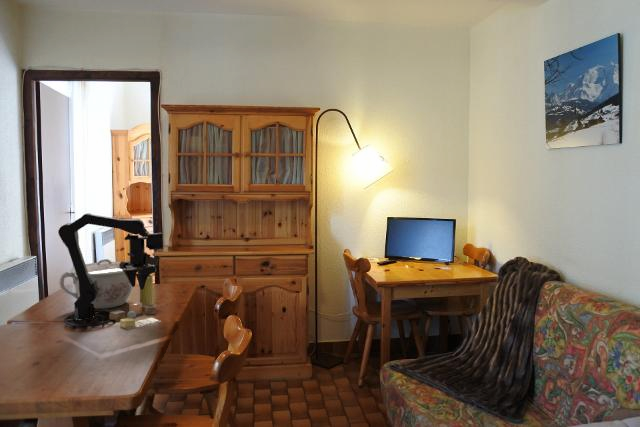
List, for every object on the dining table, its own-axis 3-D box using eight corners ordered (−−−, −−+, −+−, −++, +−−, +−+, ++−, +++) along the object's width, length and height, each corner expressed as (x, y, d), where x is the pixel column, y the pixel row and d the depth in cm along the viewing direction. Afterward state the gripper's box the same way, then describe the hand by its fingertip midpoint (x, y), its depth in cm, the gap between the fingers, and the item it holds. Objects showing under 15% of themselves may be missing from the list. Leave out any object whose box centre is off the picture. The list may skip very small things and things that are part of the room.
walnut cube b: (145, 317, 203) (145, 308, 203) (143, 315, 207) (143, 305, 206) (155, 316, 205) (155, 307, 205) (153, 314, 209) (153, 304, 208)
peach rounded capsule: (133, 318, 202) (133, 306, 201) (127, 315, 205) (126, 304, 205) (144, 315, 206) (144, 303, 205) (138, 313, 209) (138, 301, 208)
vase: (149, 310, 213) (148, 277, 212) (136, 309, 214) (135, 277, 213) (156, 306, 219) (156, 274, 218) (144, 305, 220) (143, 274, 219)
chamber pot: (148, 298, 233) (147, 254, 231) (119, 315, 206) (118, 266, 204) (92, 296, 236) (90, 253, 234) (55, 312, 209) (54, 263, 207)
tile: (125, 328, 185) (125, 322, 185) (120, 326, 188) (119, 319, 187) (135, 326, 188) (135, 319, 188) (130, 323, 191) (129, 317, 190)
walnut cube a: (116, 323, 195) (116, 313, 194) (109, 322, 196) (109, 312, 196) (124, 321, 198) (124, 311, 198) (117, 319, 200) (117, 310, 200)
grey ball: (129, 321, 197) (129, 312, 197) (125, 319, 200) (125, 311, 199) (138, 319, 200) (137, 311, 200) (133, 317, 202) (133, 309, 202)
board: (127, 332, 184) (127, 329, 184) (118, 328, 189) (118, 325, 189) (161, 324, 195) (161, 320, 195) (151, 320, 199) (151, 317, 199)
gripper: (167, 250, 202) (167, 288, 203) (143, 245, 214) (143, 281, 215) (142, 253, 193) (142, 293, 195) (118, 248, 206) (119, 285, 207)
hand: (137, 287), depth 203 cm, fingers open, 6 cm apart
